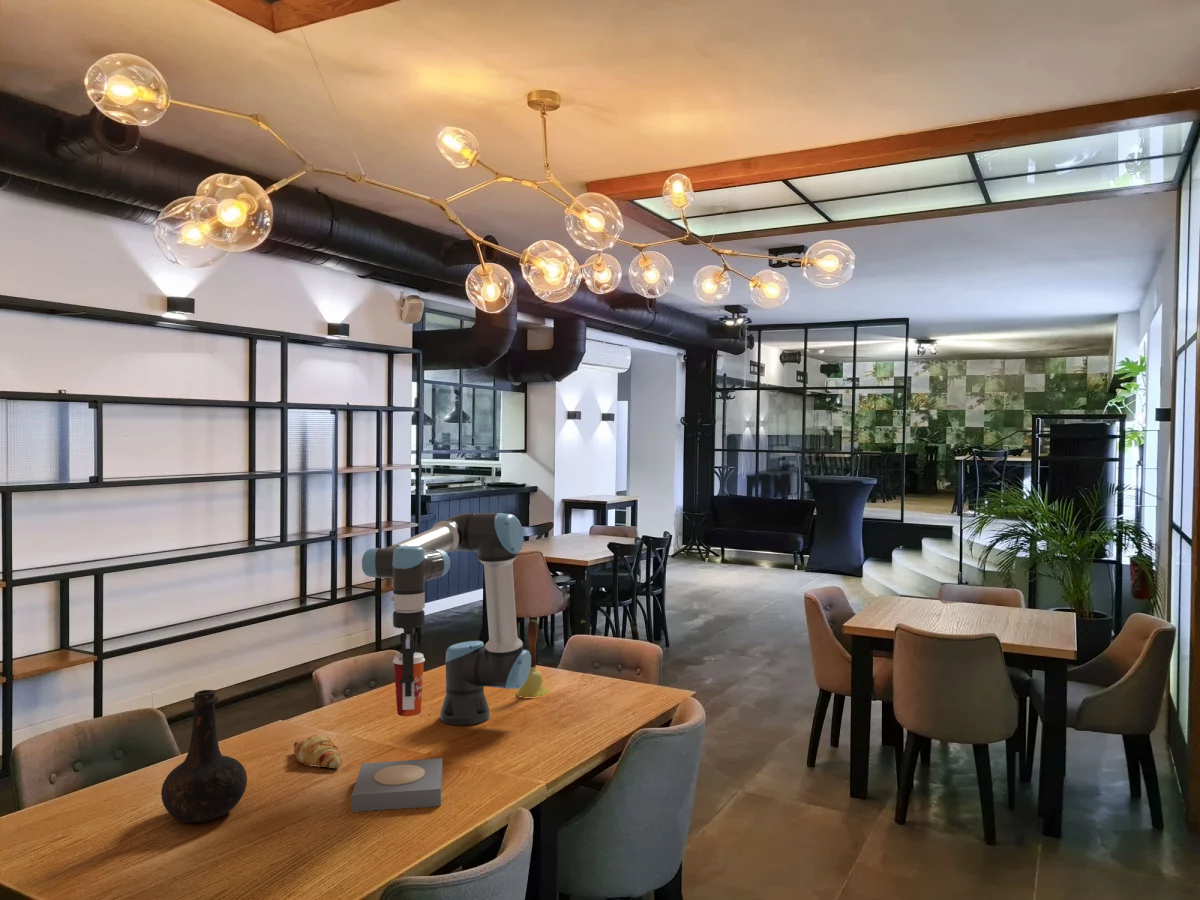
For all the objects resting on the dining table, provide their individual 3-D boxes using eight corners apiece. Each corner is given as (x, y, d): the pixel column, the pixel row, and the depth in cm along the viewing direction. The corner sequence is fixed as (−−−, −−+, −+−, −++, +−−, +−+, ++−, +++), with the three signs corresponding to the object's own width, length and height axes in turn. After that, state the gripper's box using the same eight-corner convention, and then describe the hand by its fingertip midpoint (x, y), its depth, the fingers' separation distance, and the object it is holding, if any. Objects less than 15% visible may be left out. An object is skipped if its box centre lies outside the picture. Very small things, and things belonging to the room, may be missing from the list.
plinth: (361, 779, 211) (361, 761, 211) (442, 773, 214) (442, 756, 214) (351, 812, 191) (351, 793, 191) (440, 806, 195) (440, 787, 195)
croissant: (348, 781, 219) (360, 750, 222) (318, 773, 212) (331, 741, 215) (304, 760, 233) (316, 731, 235) (274, 752, 226) (287, 723, 228)
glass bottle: (191, 839, 178) (190, 708, 179) (144, 820, 188) (144, 695, 188) (263, 809, 194) (263, 688, 194) (217, 792, 203) (216, 677, 203)
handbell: (514, 689, 292) (514, 617, 292) (549, 687, 293) (549, 616, 293) (514, 699, 279) (514, 624, 280) (551, 697, 281) (551, 623, 281)
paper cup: (417, 718, 199) (417, 659, 199) (387, 716, 200) (387, 658, 200) (430, 708, 206) (430, 652, 207) (401, 707, 208) (400, 650, 208)
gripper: (395, 603, 212) (395, 694, 212) (390, 618, 193) (390, 717, 193) (425, 602, 214) (425, 692, 214) (423, 616, 194) (423, 715, 194)
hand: (409, 704), depth 203 cm, fingers closed on paper cup, 7 cm apart
